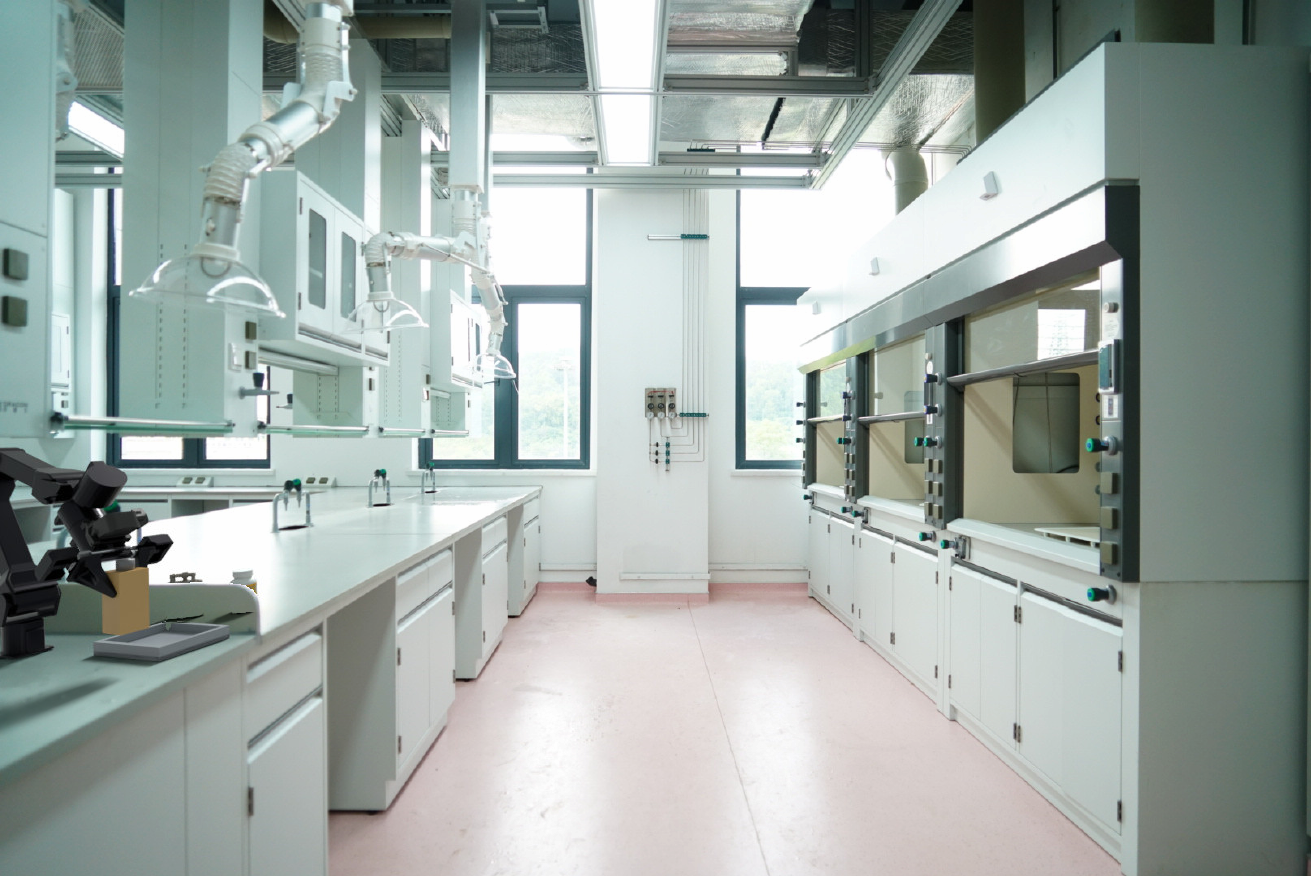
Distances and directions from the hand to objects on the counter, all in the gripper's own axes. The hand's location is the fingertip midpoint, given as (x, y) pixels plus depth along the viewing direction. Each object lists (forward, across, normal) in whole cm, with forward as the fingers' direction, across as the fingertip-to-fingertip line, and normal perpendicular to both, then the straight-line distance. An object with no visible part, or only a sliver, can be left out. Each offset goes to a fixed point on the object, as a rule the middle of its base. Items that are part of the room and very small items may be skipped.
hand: (131, 592), depth 111 cm
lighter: (-9, +26, +28) cm, 40 cm away
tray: (+3, +11, +16) cm, 19 cm away
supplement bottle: (-3, +34, +22) cm, 41 cm away
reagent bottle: (+4, 0, +6) cm, 7 cm away
